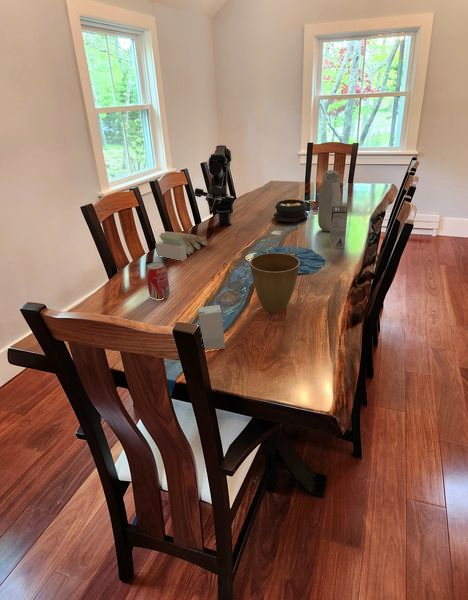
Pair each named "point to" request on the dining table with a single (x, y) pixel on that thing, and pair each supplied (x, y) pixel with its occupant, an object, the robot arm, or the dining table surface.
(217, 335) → the skincare box
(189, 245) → the maple tile
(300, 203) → the casserole
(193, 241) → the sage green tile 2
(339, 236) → the coffee box
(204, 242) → the maple tile
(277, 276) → the plant pot
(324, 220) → the grey bottle
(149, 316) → the dining table surface
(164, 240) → the sage end tile
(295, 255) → the decorative plate
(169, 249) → the block
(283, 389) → the dining table surface
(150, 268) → the soda can
